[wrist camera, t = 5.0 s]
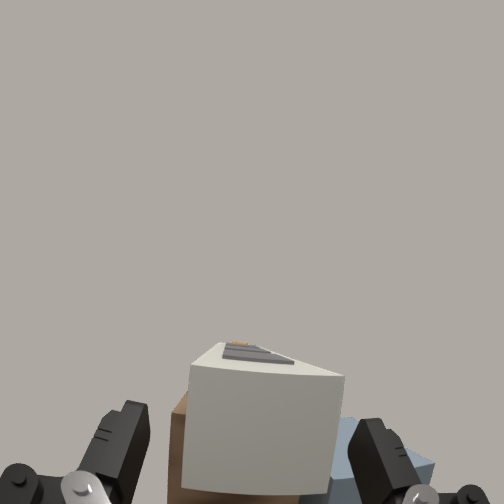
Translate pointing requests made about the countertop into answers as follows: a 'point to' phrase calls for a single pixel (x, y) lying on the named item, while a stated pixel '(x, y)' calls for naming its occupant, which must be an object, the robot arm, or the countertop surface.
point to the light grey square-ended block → (259, 423)
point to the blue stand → (342, 479)
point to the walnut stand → (189, 500)
